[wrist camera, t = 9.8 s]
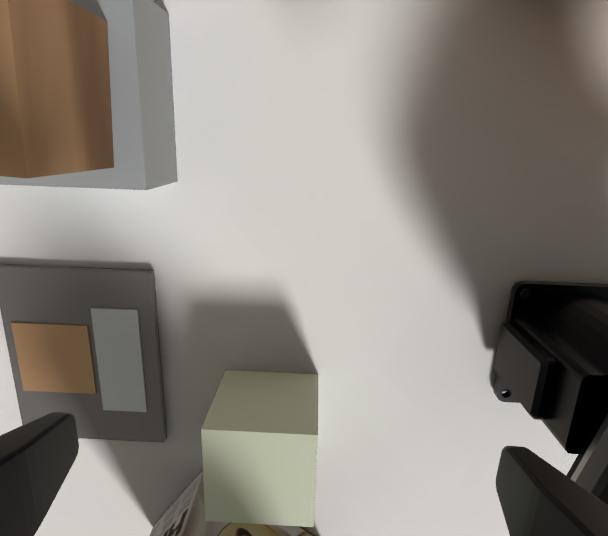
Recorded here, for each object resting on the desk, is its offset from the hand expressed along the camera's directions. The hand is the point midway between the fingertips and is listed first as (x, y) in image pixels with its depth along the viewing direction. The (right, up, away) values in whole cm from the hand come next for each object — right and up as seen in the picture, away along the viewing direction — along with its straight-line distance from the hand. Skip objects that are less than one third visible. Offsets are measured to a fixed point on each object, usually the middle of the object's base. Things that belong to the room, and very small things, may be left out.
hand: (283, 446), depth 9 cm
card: (-11, -1, +14) cm, 18 cm away
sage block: (-1, -4, +15) cm, 15 cm away
